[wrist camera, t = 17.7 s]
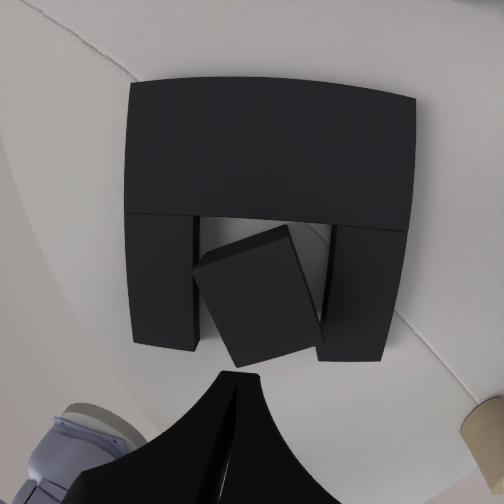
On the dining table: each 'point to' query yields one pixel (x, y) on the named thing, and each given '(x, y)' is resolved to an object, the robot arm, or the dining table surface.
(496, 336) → the dining table surface
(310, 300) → the small block
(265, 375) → the dining table surface
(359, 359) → the base pad
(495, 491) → the candle
